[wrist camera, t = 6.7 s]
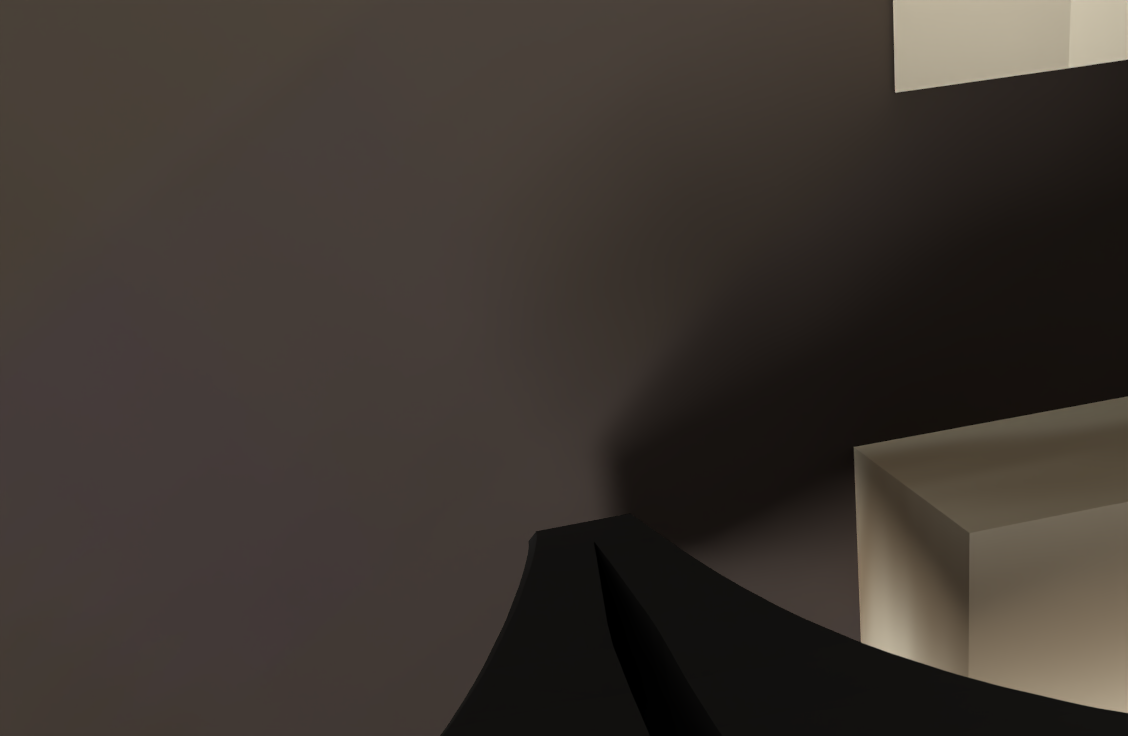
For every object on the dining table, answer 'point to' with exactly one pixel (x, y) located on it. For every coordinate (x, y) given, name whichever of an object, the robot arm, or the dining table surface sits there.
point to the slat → (1003, 551)
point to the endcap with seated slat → (1002, 38)
